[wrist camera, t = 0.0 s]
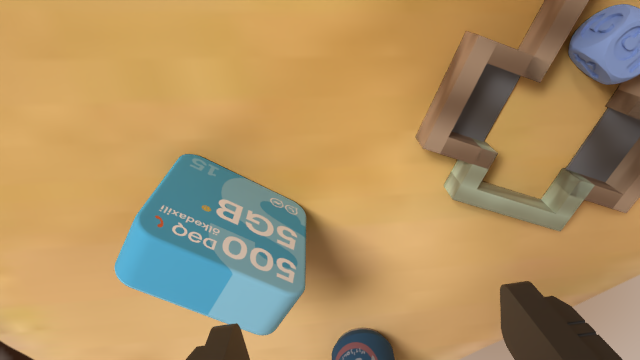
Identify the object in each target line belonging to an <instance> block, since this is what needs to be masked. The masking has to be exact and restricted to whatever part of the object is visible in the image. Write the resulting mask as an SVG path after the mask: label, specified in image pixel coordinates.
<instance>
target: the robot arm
mask: <svg viewBox="0 0 640 360" xmlns="http://www.w3.org/2000/svg"><path fill="white" fill-rule="evenodd" d="M500 305H501V330H502V334H503V338H504V341H505V343H506V346H507V348H508V349H509V351H510V353H511V354H512V356H513V358H514V359H515V360H622V359H621V357H619V355H618V354H617V353H616V352H615V351H614V350H613V349H612V348H611V347H610V346H609V345H608V344H607V343H606V342H605V341H604V340H603V339H602V338H601V337H600V336H599V335H597V334H596V332H595V331H594V329H593V328H592V327H591V326H590V325H589V324H587V323H585V320H584V319H583V318H582V317H581V316H580V315H579V314H578V313H577V312H576V311H575V310H574V309H573V308H572V307H571V306H570V305H568V304H566V303H564V302H563V301H561V300H559V299H557V298H556V297H554V296H550V297H543V295H542V294H541V293H540V292H539V291H538V290H537V289H536V288H535V286H534V285H533V284H532V283H531V282H529V281H525V282H518V283H511V284H505V285H502V286H501V288H500ZM186 360H250V358H249V355H248V352H247V348H246V345H245V342H244V338H243V335H242V332H241V329H240V326H239V325H238V324H237V323H236V324H229V325H222V326H215V327H213V328H212V329H211V331H210V334H209V336H208V339H207V342H206V344H205V346H199V347H196V348H195V349H194V351H193V352H192V353H191V354H190V355H189V356H188V358H187V359H186Z"/></svg>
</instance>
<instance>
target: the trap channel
mask: <svg viewBox="0 0 640 360" xmlns="http://www.w3.org/2000/svg"><path fill="white" fill-rule="evenodd" d="M588 1H589V0H545V1H544V3H543V5H542V6H541V8H540V10H539V12H538V14H537V16H536V17H535V19H534V21H533V23H532V25H531V27H530V28H529V30H528V32H527V34H526V36H525V38H524V39H523V41H522V43H521V45H520V47H519V49H518V50H516V49H514V48H511V47H509V46H506V45H503V44H501V43H498V42H496V41H493V40H490V39H488V38H485V37H483V36H480V35H477V34H474V33H471V32H467V31H466V32H465V35H464V37H463V39H462V41H461V43H460V45H459V47H458V49H457V51H456V53H455V55H454V58H453V60H452V62H451V64H450V66H449V68H448V70H447V72H446V74H445V76H444V78H443V81H442V83H441V85H440V87H439V89H438V91H437V93H436V95H435V97H434V99H433V101H432V104H431V106H430V108H429V110H428V112H427V114H426V116H425V118H424V120H423V122H422V124H421V127H420V129H419V131H418V133H417V135H416V139H417V140H418V142H419V143H420V145H421V146H422V148H423V149H426V150H429V151H432V152H436V153H439V154H442V155H445V156H448V157H451V158H454V159H458V160H457V162H456V164H455V166H454V167H453V169H452V171H451V173H450V175H449V177H448V178H447V180H446V182H445V184H444V187H445V189H446V190H447V192H448V193H449V195H450V196H451V198H452V199H453V200H456V201H460V202H463V203H466V204H470V205H473V206H476V207H480V208H483V209H486V210H490V211H493V212H497V213H500V214H503V215H507V216H510V217H513V218H517V219H520V220H523V221H527V222H530V223H533V224H537V225H540V226H543V227H547V228H550V229H554V230H557V231H561V230H562V229H563V227H564V226H565V225H566V223H567V222H568V221H569V219H570V218H571V217H572V215H573V214H574V213H575V211H576V210H577V209H578V207H579V206H580V205H581V203H582V202H583V201H584V200H586V201H589V202H593V203H596V204H599V205H602V206H605V207H608V208H611V209H615V210H618V211H621V212H624V213H627V212H628V210H629V209H630V208H631V207H632V206H633V204H634V203H635V202H636V201H637V200H638V198H639V197H640V75H638V76H636V77H634V78H632V79H630V80H628V81H625V82H622V83H621V84H620V86H619V87H618V89H617V90H616V91H615V93H614V94H613V96H612V97H611V99H610V100H609V102H608V103H607V105H606V107H608V108H607V110H606V111H605V113H604V114H603V116H602V117H601V118H600V120H599V121H598V123H597V124H596V126H595V127H594V129H593V130H592V131H591V133H590V134H589V136H588V137H587V139H586V140H585V142H584V143H583V144H582V146H581V147H580V149H579V150H578V152H577V153H576V155H575V156H574V157H573V159H572V160H571V162H570V163H569V165H568V166H567V167H566V169H565V168H562V170H561V171H560V173H559V174H558V176H557V177H556V178H555V180H554V181H553V183H552V184H551V186H550V187H549V189H548V190H547V191H546V193H545V194H544V196H543V197H542V199H537V198H534V197H531V196H528V195H524V194H521V193H518V192H515V191H512V190H508V189H505V188H502V187H499V186H496V185H492V184H489V183H486V182H483V181H482V180H483V178H484V176H485V175H486V173H487V171H488V169H489V168H490V166H491V164H492V163H493V161H494V159H495V158H496V156H497V154H498V153H497V152H496V151H495V150H494V149H493V148H491V147H490V146H489V145H488V144H487V143H486V142H484V140H485V138H486V136H487V134H488V133H489V131H490V129H491V127H492V126H493V124H494V122H495V120H496V119H497V117H498V115H499V113H500V111H501V110H502V108H503V106H504V104H505V103H506V101H507V99H508V97H509V96H510V94H511V92H512V90H513V89H514V87H515V85H516V83H517V81H518V80H519V78H520V76H523V77H526V78H528V79H531V80H534V81H536V82H539V83H540V82H541V80H542V79H543V77H544V75H545V74H546V72H547V70H548V68H549V67H550V65H551V63H552V62H553V60H554V58H555V57H556V55H557V53H558V52H559V50H560V48H561V47H562V45H563V43H564V42H565V40H566V38H567V36H568V35H569V33H570V31H571V30H572V28H573V26H574V25H575V23H576V21H577V20H578V18H579V16H580V15H581V13H582V11H583V10H584V8H585V6H586V5H587V3H588Z"/></svg>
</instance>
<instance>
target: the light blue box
mask: <svg viewBox="0 0 640 360" xmlns="http://www.w3.org/2000/svg"><path fill="white" fill-rule="evenodd" d="M305 271H306V214H305V212H304V210H303V209H302V208H301V207H300V206H299V205H298V204H297V203H295V202H294V201H292V200H290V199H288V198H286V197H284V196H282V195H280V194H278V193H275V192H273V191H271V190H269V189H267V188H265V187H263V186H261V185H259V184H257V183H255V182H253V181H251V180H249V179H246V178H244V177H242V176H240V175H238V174H236V173H234V172H232V171H230V170H228V169H226V168H224V167H222V166H219V165H217V164H215V163H213V162H211V161H209V160H207V159H205V158H203V157H200V156H197V155H193V154H185V155H182V156H180V157H179V158H178V160H177V161H176V163H175V164H174V165H173V167H172V168H171V169H170V171H169V172H168V173H167V175H166V176H165V177H164V179H163V180H162V181H161V183H160V184H159V185H158V187H157V188H156V189H155V191H154V192H153V194H152V195H151V196H150V198H149V199H148V200H147V202H146V203H145V204H144V206H143V207H142V208H141V210H140V211H139V212H138V214H137V215H136V217H135V219H134V221H133V224H132V226H131V228H130V231H129V233H128V235H127V237H126V240H125V242H124V244H123V247H122V249H121V251H120V254H119V256H118V258H117V261H116V263H115V273H116V275H117V277H118V279H119V280H120V281H121V282H122V283H123V284H125V285H126V286H128V287H130V288H133V289H136V290H138V291H141V292H144V293H146V294H149V295H152V296H154V297H157V298H160V299H162V300H165V301H168V302H170V303H173V304H176V305H179V306H181V307H184V308H187V309H189V310H192V311H195V312H197V313H200V314H203V315H205V316H208V317H211V318H213V319H216V320H219V321H221V322H224V323H227V324H236V323H237V324H238V325H239V326H240V329H243V330H246V331H248V332H251V333H254V334H257V335H268V334H270V333H272V332H274V331H275V330H276V328H277V327H278V326H279V324H280V323H281V322H282V320H283V319H284V318H285V316H286V315H287V314H288V312H289V311H290V309H291V308H292V307H293V305H294V304H295V303H296V301H297V300H298V299H299V297H300V296H301V295H302V293H303V292H304V290H305Z"/></svg>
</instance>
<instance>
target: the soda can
mask: <svg viewBox="0 0 640 360" xmlns="http://www.w3.org/2000/svg"><path fill="white" fill-rule="evenodd" d="M332 360H395V359H394V354H393V350H392V347H391V345H390V343H389V342H388V341H387V340H386V339H385V338H384V337H383V336H382V335H381V334H380V333H378V332H377V331H375V330H372V329H368V328H357V329H353V330H350V331H348V332H346V333H344V334H343V335H342V336H341V337H340V338H339V340H338V341H337V343H336V345H335V346H334V348H333V351H332Z"/></svg>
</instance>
